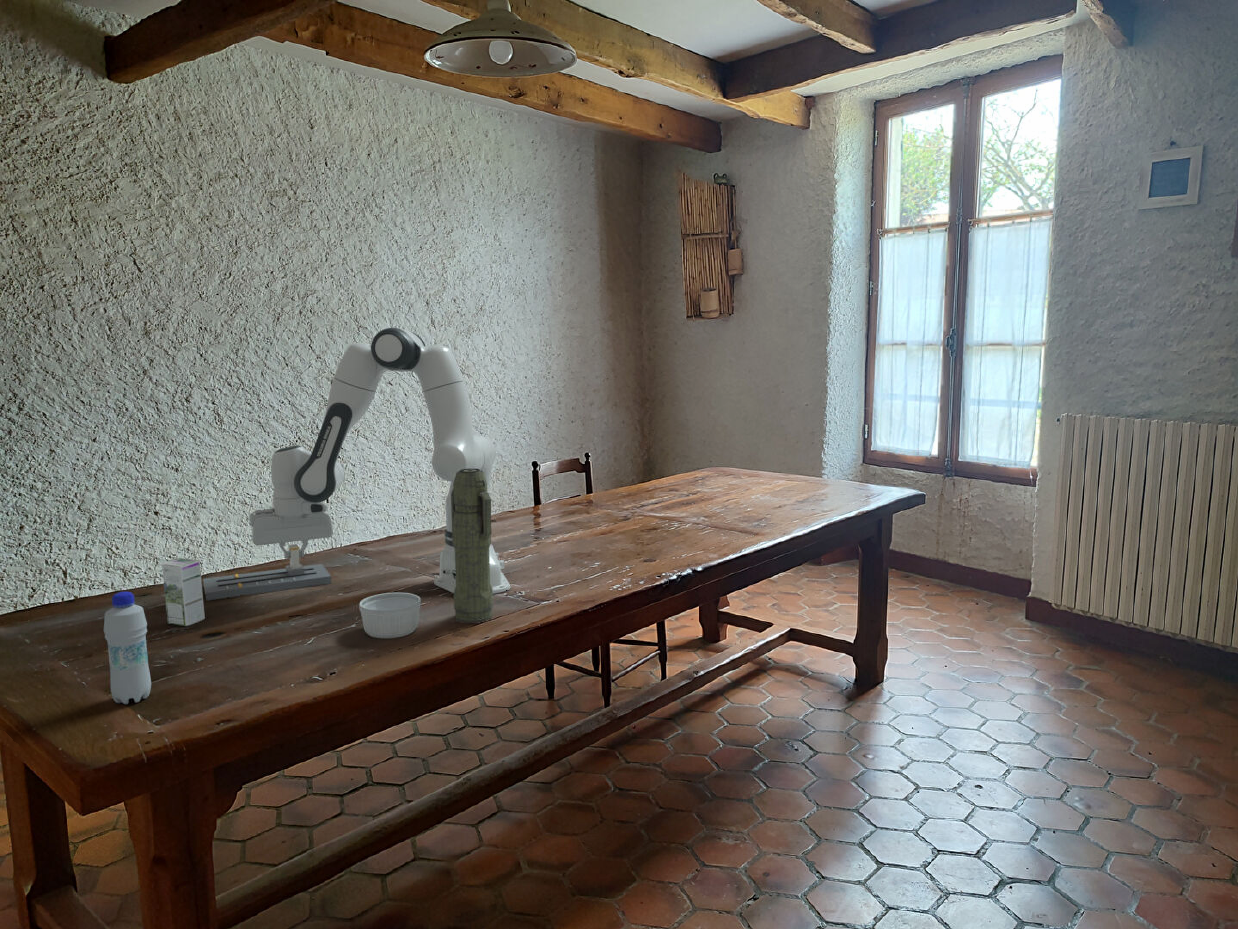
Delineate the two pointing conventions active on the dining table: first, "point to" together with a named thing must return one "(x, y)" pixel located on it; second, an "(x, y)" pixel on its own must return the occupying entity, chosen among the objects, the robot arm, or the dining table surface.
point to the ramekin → (390, 614)
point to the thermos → (471, 546)
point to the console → (264, 582)
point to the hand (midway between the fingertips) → (294, 557)
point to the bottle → (127, 649)
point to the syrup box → (183, 591)
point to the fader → (294, 562)
